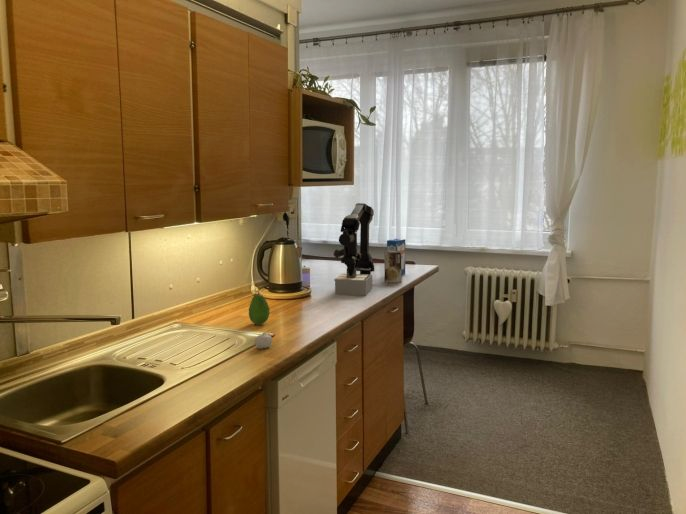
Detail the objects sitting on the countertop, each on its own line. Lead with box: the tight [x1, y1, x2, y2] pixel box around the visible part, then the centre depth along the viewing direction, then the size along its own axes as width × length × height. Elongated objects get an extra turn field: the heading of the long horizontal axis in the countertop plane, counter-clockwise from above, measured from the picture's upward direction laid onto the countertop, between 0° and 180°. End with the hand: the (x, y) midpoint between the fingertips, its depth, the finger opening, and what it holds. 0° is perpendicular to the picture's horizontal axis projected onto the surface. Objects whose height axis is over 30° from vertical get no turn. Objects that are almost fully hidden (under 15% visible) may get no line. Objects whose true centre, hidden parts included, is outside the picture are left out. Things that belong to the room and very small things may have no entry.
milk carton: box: [386, 238, 406, 276], centre depth 316 cm, size 10×6×20 cm, turn 144°
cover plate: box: [333, 267, 368, 282], centre depth 272 cm, size 14×14×5 cm
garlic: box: [254, 331, 273, 350], centre depth 185 cm, size 6×5×5 cm
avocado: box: [248, 293, 270, 326], centre depth 214 cm, size 8×8×12 cm
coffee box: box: [383, 250, 403, 283], centre depth 297 cm, size 9×6×16 cm
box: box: [334, 273, 373, 296], centre depth 273 cm, size 16×15×7 cm
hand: (351, 275), depth 273 cm, fingers closed on cover plate, 4 cm apart
